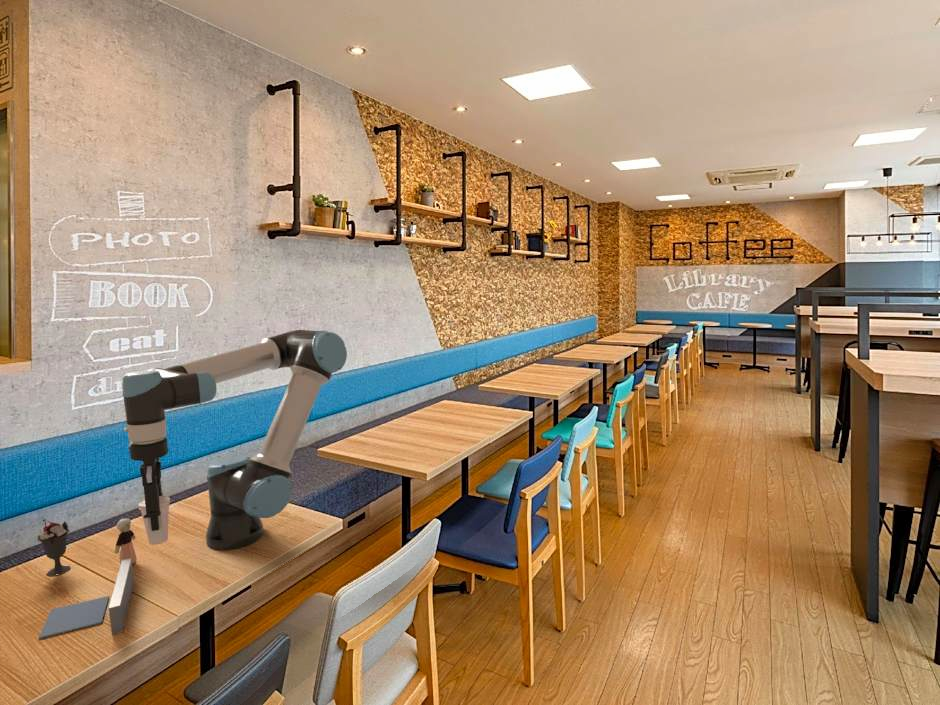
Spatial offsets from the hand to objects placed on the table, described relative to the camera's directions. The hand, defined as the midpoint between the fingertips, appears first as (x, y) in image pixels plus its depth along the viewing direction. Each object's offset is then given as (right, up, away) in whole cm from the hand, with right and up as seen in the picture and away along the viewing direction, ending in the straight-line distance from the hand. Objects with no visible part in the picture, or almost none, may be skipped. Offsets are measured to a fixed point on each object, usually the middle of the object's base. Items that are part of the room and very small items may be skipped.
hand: (157, 536), depth 126 cm
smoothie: (0, -1, 0) cm, 1 cm away
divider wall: (-7, -15, -1) cm, 17 cm away
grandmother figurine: (-17, -13, +17) cm, 28 cm away
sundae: (-34, -14, +14) cm, 39 cm away
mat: (-15, -16, -5) cm, 23 cm away
